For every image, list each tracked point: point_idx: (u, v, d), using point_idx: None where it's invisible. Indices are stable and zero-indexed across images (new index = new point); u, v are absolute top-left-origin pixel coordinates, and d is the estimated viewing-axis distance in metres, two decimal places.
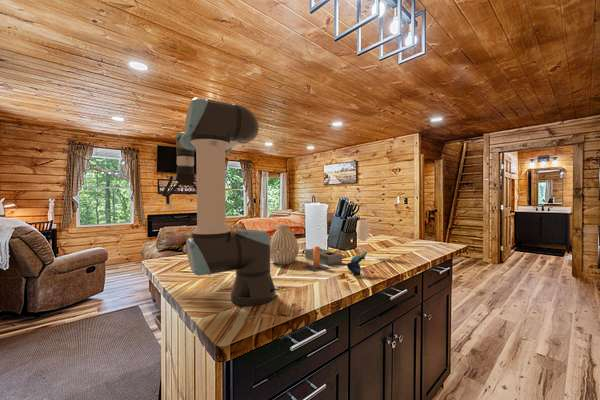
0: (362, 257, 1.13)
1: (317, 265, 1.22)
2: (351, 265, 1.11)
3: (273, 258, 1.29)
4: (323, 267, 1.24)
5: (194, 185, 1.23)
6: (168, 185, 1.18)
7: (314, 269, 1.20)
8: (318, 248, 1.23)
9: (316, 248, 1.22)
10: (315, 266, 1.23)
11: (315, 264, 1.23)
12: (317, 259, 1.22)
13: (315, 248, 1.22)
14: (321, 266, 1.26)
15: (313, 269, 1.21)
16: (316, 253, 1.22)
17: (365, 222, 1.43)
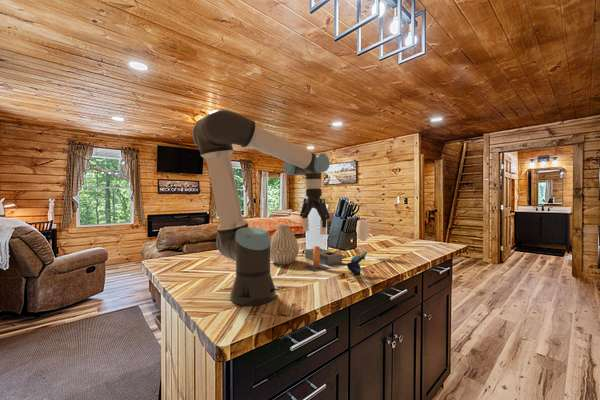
0: (362, 257, 1.13)
1: (317, 265, 1.22)
2: (351, 265, 1.11)
3: (273, 258, 1.29)
4: (323, 267, 1.24)
5: (315, 207, 1.20)
6: (302, 207, 1.29)
7: (314, 269, 1.20)
8: (318, 248, 1.23)
9: (316, 248, 1.22)
10: (315, 266, 1.23)
11: (315, 264, 1.23)
12: (317, 259, 1.22)
13: (315, 248, 1.22)
14: (321, 266, 1.26)
15: (313, 269, 1.21)
16: (316, 253, 1.22)
17: (365, 222, 1.43)
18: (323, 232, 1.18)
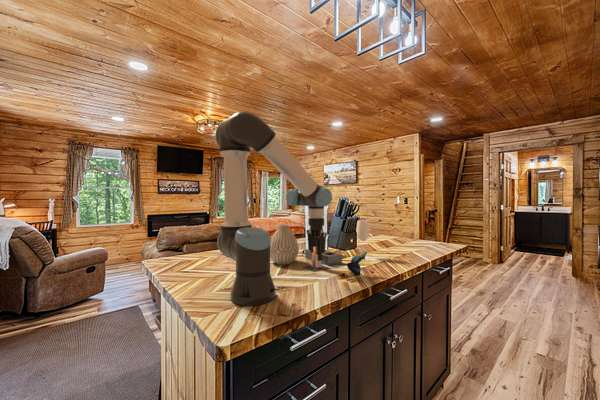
0: (362, 257, 1.13)
1: None
2: (351, 265, 1.11)
3: (273, 258, 1.29)
4: (323, 267, 1.24)
5: (315, 239, 1.21)
6: (308, 239, 1.27)
7: (314, 269, 1.20)
8: None
9: (316, 248, 1.22)
10: (315, 266, 1.23)
11: (315, 264, 1.22)
12: None
13: (315, 248, 1.22)
14: (321, 266, 1.26)
15: (313, 269, 1.21)
16: None
17: (365, 222, 1.43)
18: (318, 265, 1.22)
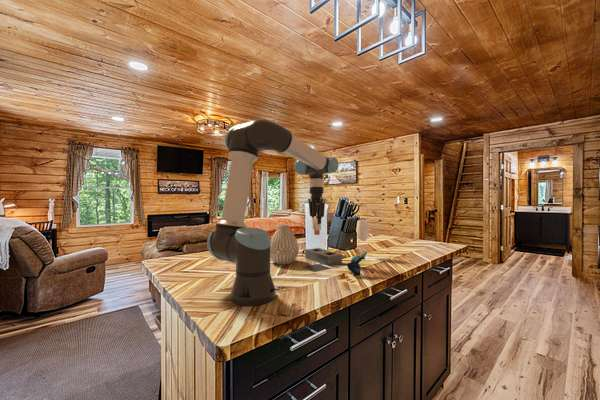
0: (362, 257, 1.13)
1: (317, 232, 1.40)
2: (351, 265, 1.11)
3: (273, 258, 1.29)
4: (323, 267, 1.24)
5: (316, 205, 1.39)
6: (309, 206, 1.45)
7: (314, 269, 1.20)
8: None
9: None
10: (316, 233, 1.41)
11: (316, 231, 1.41)
12: None
13: None
14: (321, 266, 1.26)
15: (313, 269, 1.21)
16: None
17: (365, 222, 1.43)
18: (318, 228, 1.40)
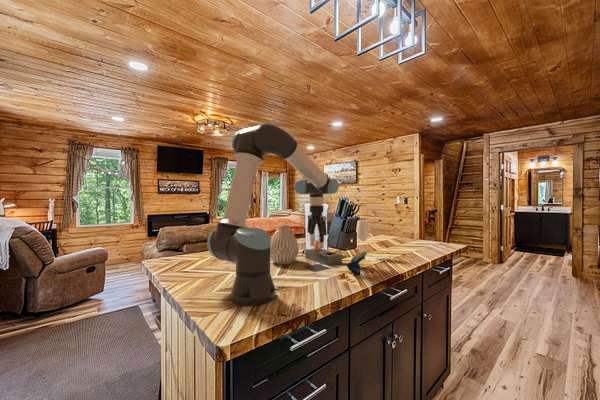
0: (362, 257, 1.13)
1: None
2: (351, 265, 1.11)
3: (273, 258, 1.29)
4: (323, 267, 1.24)
5: (317, 223, 1.39)
6: (308, 223, 1.46)
7: (314, 269, 1.20)
8: (318, 242, 1.41)
9: (316, 242, 1.41)
10: None
11: None
12: None
13: (315, 242, 1.41)
14: (321, 266, 1.26)
15: (313, 269, 1.21)
16: (316, 246, 1.41)
17: (365, 222, 1.43)
18: (321, 246, 1.38)
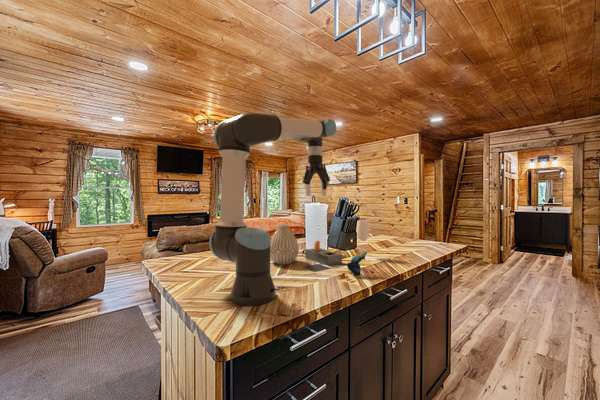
0: (362, 257, 1.13)
1: None
2: (351, 265, 1.11)
3: (273, 258, 1.29)
4: (323, 267, 1.24)
5: (317, 172, 1.31)
6: (305, 174, 1.41)
7: (314, 269, 1.20)
8: (318, 242, 1.41)
9: (317, 242, 1.40)
10: None
11: None
12: None
13: (316, 242, 1.40)
14: (321, 266, 1.26)
15: (313, 269, 1.21)
16: (317, 246, 1.40)
17: (365, 222, 1.43)
18: (323, 194, 1.29)
